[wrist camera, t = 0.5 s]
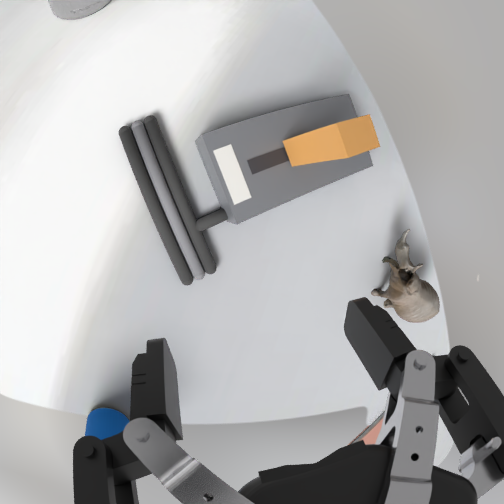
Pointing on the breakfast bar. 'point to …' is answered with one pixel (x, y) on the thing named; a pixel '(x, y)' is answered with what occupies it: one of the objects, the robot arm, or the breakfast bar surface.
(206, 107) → the breakfast bar surface
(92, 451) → the robot arm
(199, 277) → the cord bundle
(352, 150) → the handle
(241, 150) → the breaker box
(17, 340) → the breakfast bar surface
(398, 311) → the rhinoceros figurine
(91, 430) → the beverage can
